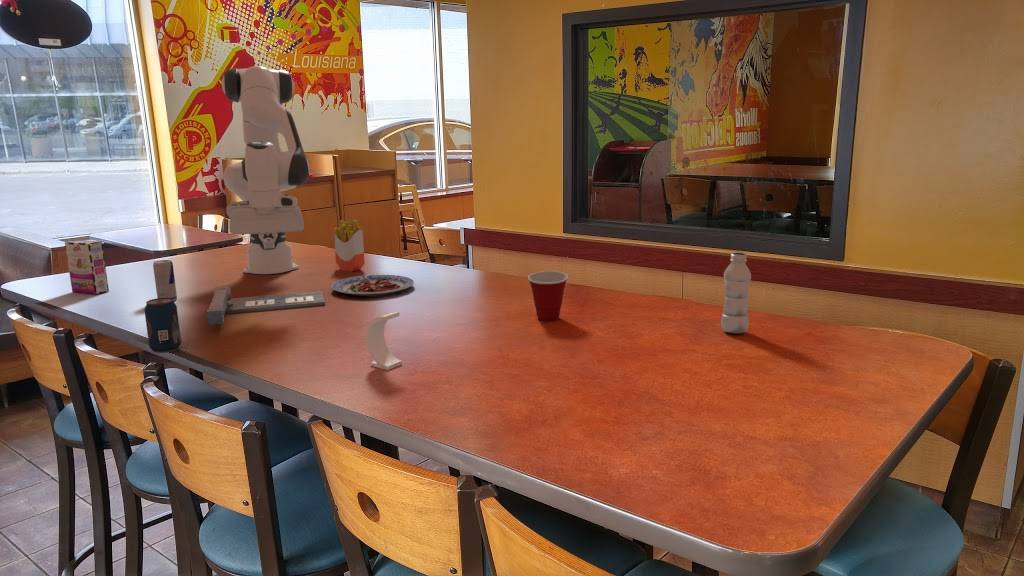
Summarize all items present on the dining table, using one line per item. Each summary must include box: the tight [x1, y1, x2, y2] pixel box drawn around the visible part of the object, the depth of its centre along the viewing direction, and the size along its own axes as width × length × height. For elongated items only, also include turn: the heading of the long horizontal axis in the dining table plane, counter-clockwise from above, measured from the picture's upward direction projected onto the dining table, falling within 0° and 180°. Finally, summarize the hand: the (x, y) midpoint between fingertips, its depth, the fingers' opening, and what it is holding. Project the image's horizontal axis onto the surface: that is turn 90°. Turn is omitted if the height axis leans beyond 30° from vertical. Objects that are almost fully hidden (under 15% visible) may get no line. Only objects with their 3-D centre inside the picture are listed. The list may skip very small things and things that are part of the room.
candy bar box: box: [64, 239, 110, 295], centre depth 229 cm, size 11×5×16 cm, turn 68°
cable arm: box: [206, 285, 232, 326], centre depth 197 cm, size 4×29×4 cm, turn 17°
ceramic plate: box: [331, 274, 415, 297], centre depth 229 cm, size 26×26×3 cm
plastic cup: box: [527, 270, 569, 322], centre depth 193 cm, size 11×11×12 cm
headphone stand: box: [365, 311, 403, 371], centre depth 158 cm, size 5×6×12 cm
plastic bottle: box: [720, 251, 752, 335], centre depth 177 cm, size 6×7×20 cm
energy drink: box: [152, 259, 178, 302], centre depth 217 cm, size 5×5×12 cm
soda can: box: [144, 297, 182, 354], centre depth 171 cm, size 7×7×12 cm
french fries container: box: [333, 218, 365, 273], centre depth 257 cm, size 5×11×18 cm, turn 52°
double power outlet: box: [225, 290, 326, 315], centre depth 212 cm, size 14×30×2 cm, turn 108°
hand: (269, 248), depth 207 cm, fingers closed
